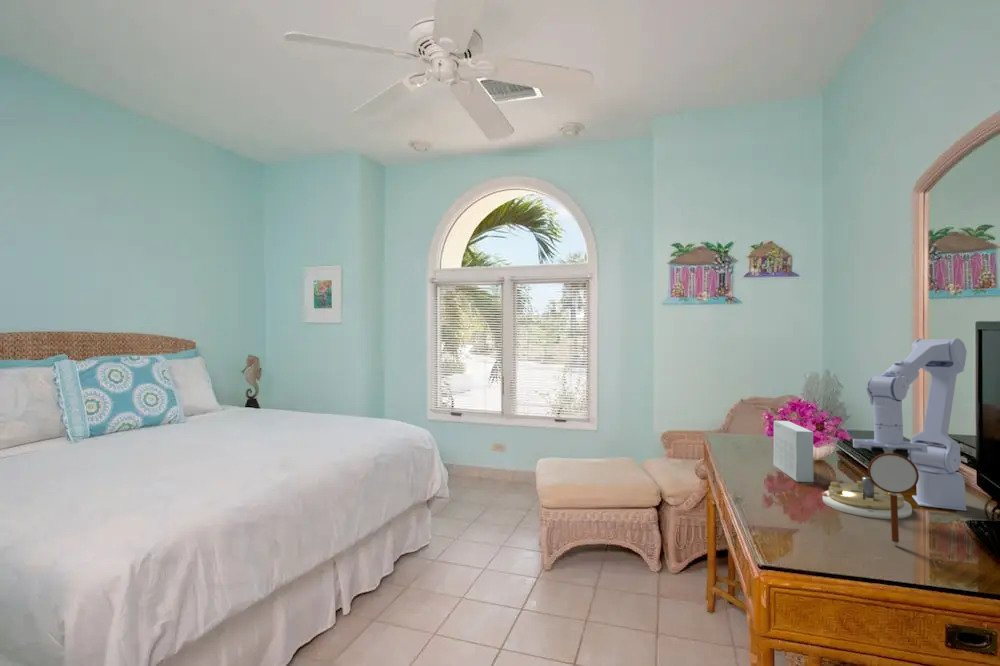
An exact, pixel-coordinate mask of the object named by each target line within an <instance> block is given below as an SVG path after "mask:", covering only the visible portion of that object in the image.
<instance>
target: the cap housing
mask: <svg viewBox="0 0 1000 666" xmlns="http://www.w3.org/2000/svg"><path fill="white" fill-rule="evenodd" d="M821 494H822V502H823V503H824V504H825V505H826V506H828V507H829V506H830V508H831V507H832V508H831V509H833V510H837V511H839V512H842V513H847V514H848V515H849V514H850V515H853V516H860V517H865V518H872V519H873V518H874V519H881V520H882V519H884V520H887V519H888V520H891V510H873V509H865V508H859V507H854V506H850V505H846V504H843V503H840V502H837V501H835V500H833V499H832V498H830V497H829V489H828V490H825V491H823V492H821ZM912 509H913V506H912V504H911V503H910V502H908V501H906V500H904V507H903V508H901V509H898V520H899V519H905V518H909V517H911V516H912V514H913V510H912Z"/></svg>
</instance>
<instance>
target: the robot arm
mask: <svg viewBox="0 0 1000 666" xmlns="http://www.w3.org/2000/svg"><path fill="white" fill-rule="evenodd" d="M910 348H911V350H910V351H911V352H910V353H909V354H908V356H907V357H906V358H905V359H904V360H896V361H895V362H893V364H892V365H891V366H889V368H887V369H886V370H885V371H884V372H883V373H881V375H875V376H873V377H870V379H869V380H868V382H867V386H866V392H867V395H868V397H869V402H870V405H871V406H872V411H873V413H872V414H873V415H872V417H873V433H874V434H873V437H874V438H872V439H871V438H867V439H866V438H865V439H863V438H862V439H861V438H853V439H852V447H853V448H855V449H859V448H860V449H861V448H862V449H869V450H870V451H871V453H872V456H873V458H875V457H876V456H878V455H880V454H884V453H885V450H887V451H889V450H890V451H892V453H894V454H899V455H902V456H904V457H906V458H908V459H909V460H910V461H911V462H912V463H913V464H914V465H915V466H916V468H917V470H918V474H919V479H918V482H917V484H916V486H915V488H916V495H911V498H913V500H914V502H916V504H917V505H918V506H921V507H929V508H938V509H939V508H941V509H947V510H955V511H956V510H957V511H964V512H965V511H967V510H968V509H967V506H966V505H967V504H966V502H967V500H966V483H965V478H964V475H963V474H962V472H957V471H958V470H959V469H960V467H961V463H962V457H961V446H960V444H959V443H958V442H957V441H956V440H955V439H953V438H952V437H950V436H949V435H948V434H949V428H950V421H951V416H952V409H953V404H954V403H953V402H954V395H955V389H956V383H957V375H958V374H960V373H963V372H964V369H965V366H966V360H967V359H966V358H967V348H966V345H965V343H964V341H963V340H962V339H960V338H957V337H956V338H933V339H932V338H929V339H927V338H926V339H925V338H924V339H922V338H917V339H915V340H914V341H913V342H912V343H911V347H910ZM920 369H922V370H923V371H925V372H927V373H929V374H930V376H931V377H930V378H931V379H930V384H929V390H928V391H929V392H928V397H927V405H926V410H925V416H924V422H923V423H924V424H923V428H922V431H920V432H918V433H916V434H914V435H912V436H911V438H910V441H904V426H903V402H902V401H903V400H905V398H906V397H907V394H908V390H909V388H910V385H911V384H912V383H913V382H914V381H915V380H916V379H917V378H918V377H919V375H920V372H919V370H920Z"/></svg>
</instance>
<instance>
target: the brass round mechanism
mask: <svg viewBox="0 0 1000 666" xmlns="http://www.w3.org/2000/svg"><path fill="white" fill-rule="evenodd" d="M829 484H830V485H829V486H828V490H829V497H830V498H832V499H833V500H835V501H837V502H840V503H843V504H846V505H850V506H854V507H859V508H865V509H873V510H891V505H890V494H891V493H889V492H886V491H883V490H881V489H880V488H878V487H877V486H876V485H875V484H874V483H873V482H872V481H871V479H870V477H869V476H862V477H861V480H856V483H855V482H854V483H853V482H851V483H850V482H841V483H840V482H838V481H831V482H830V483H829ZM896 495H897V506H898V509H901V508H903V507H904V501H905V498H904V495H903V494H902V493H899V494H896Z"/></svg>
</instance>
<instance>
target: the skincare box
mask: <svg viewBox="0 0 1000 666" xmlns="http://www.w3.org/2000/svg"><path fill="white" fill-rule="evenodd" d="M772 461H773V462H772V463H773V464H772V465H773V466H774V467H775V468H777V469H778V470H780V471H781V472H782V473H784V474H785V475H787V476H788V477H789V478H791V479H792V480H793V481H795V482H797V483H798V482H800V483H814V431H812V430H809V428H806V427H803V426H800V425H798V424H796V423H793V422H792V421H789V420H773V460H772Z"/></svg>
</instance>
